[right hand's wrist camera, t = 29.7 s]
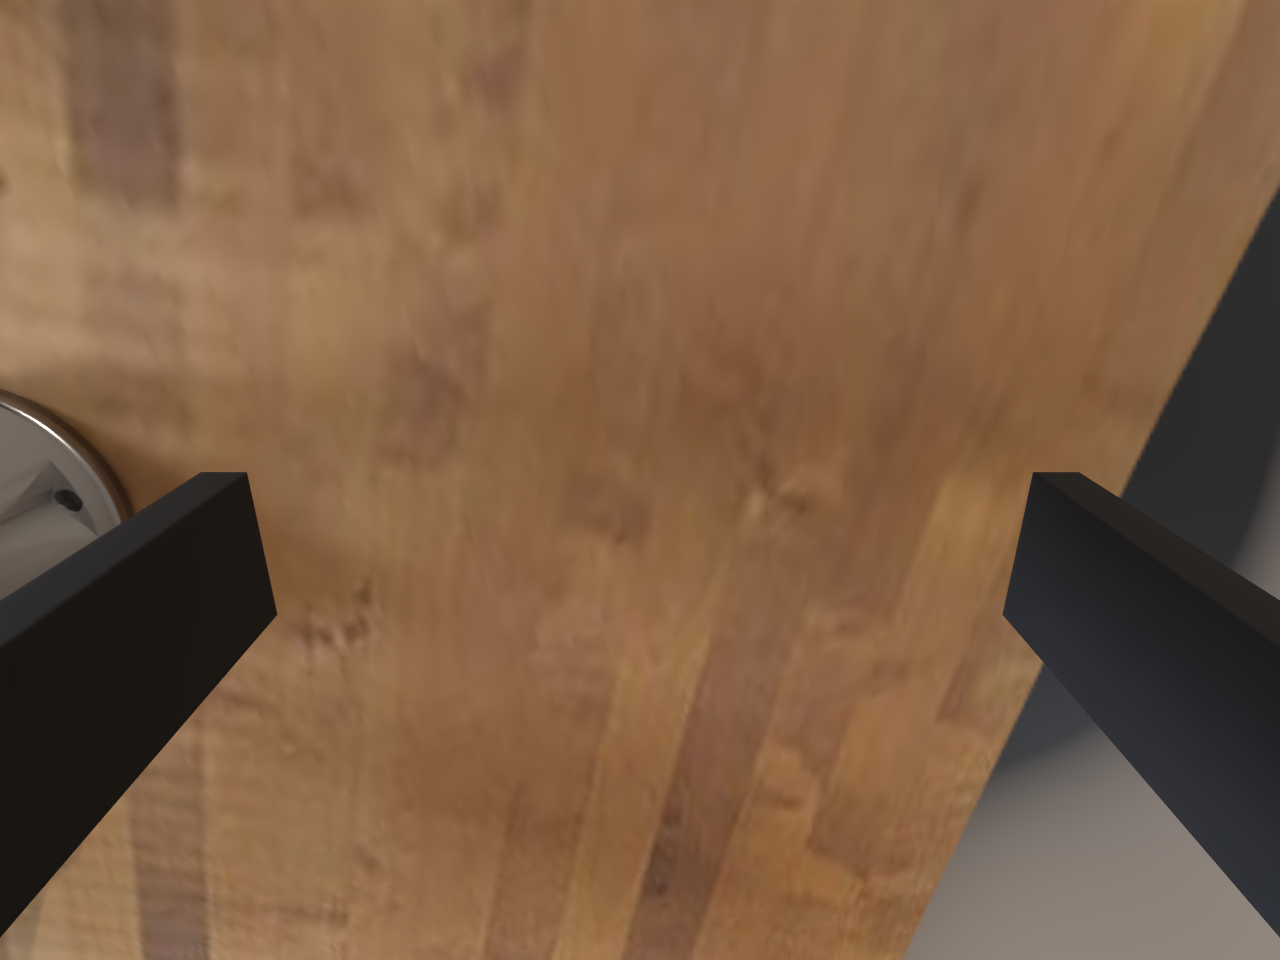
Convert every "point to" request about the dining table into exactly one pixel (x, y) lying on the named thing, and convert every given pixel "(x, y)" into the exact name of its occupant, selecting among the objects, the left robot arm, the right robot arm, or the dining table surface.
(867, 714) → the dining table surface
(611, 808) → the dining table surface
